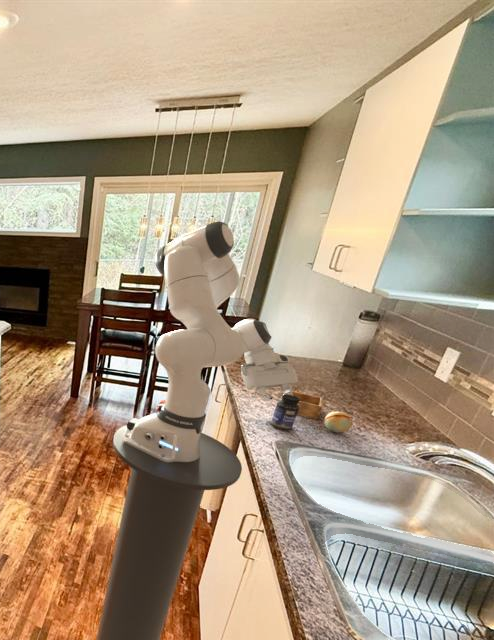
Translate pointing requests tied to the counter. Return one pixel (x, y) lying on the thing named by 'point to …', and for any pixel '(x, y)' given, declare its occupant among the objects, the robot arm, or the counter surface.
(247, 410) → the counter surface
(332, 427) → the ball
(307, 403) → the holder
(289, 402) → the pill bottle
